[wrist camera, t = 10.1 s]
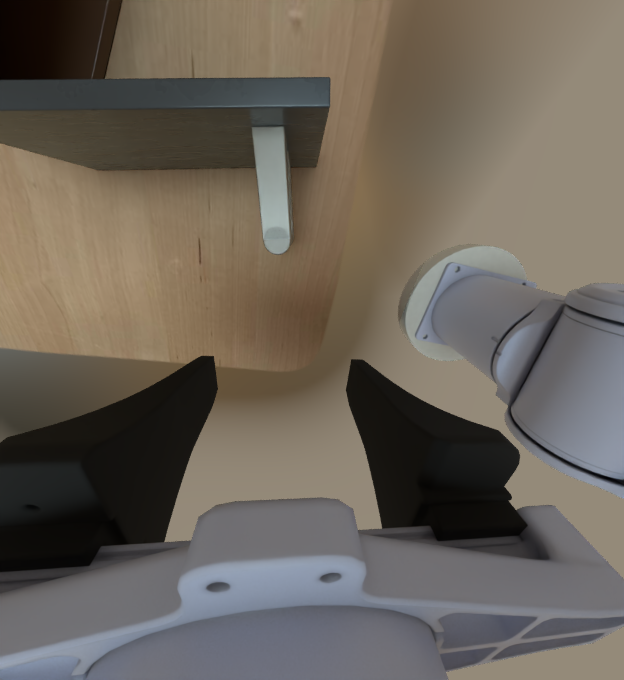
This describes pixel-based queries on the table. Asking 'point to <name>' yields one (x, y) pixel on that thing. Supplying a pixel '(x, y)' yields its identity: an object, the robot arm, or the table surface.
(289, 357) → the table surface
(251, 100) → the door
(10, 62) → the cabinet
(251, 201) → the table surface
